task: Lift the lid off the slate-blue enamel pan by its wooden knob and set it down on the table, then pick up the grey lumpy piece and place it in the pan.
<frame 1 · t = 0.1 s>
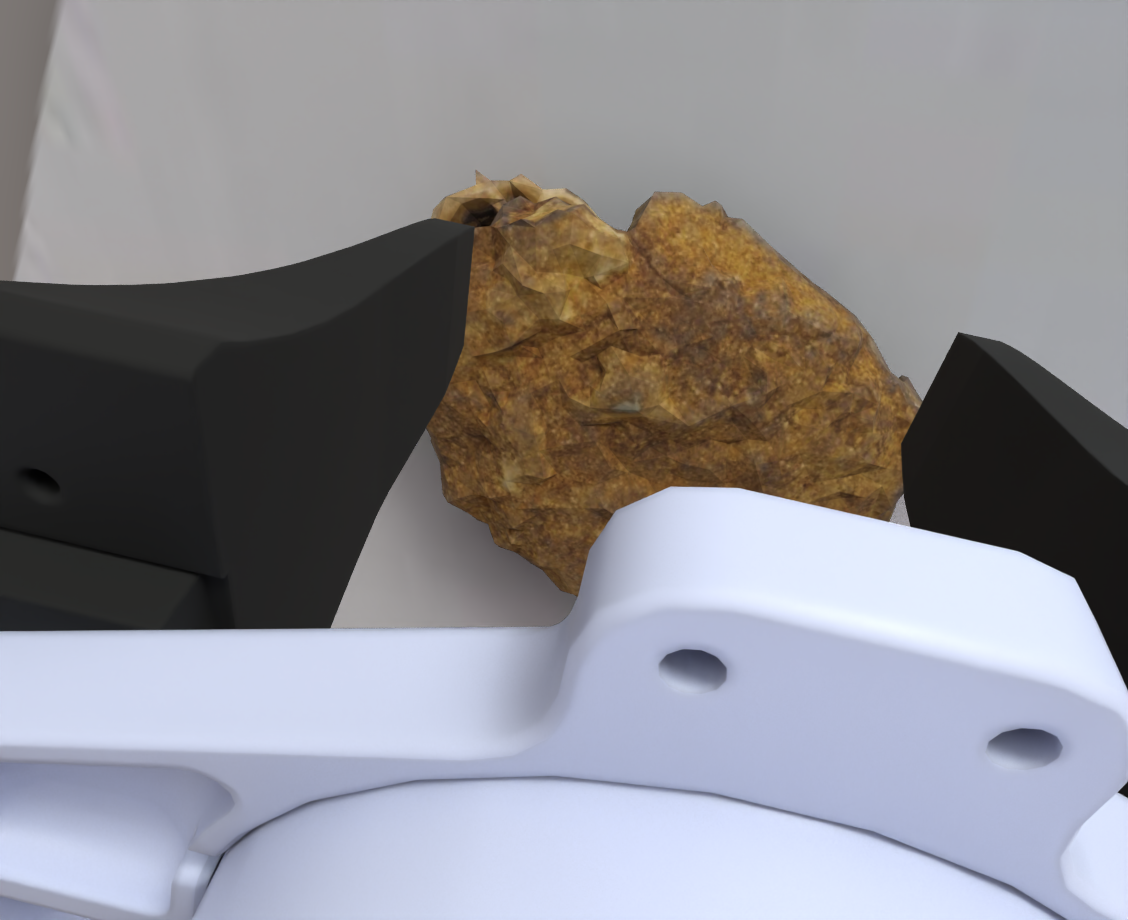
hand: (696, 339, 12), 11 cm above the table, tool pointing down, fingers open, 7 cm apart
decorative rock: (635, 386, 24), on the table
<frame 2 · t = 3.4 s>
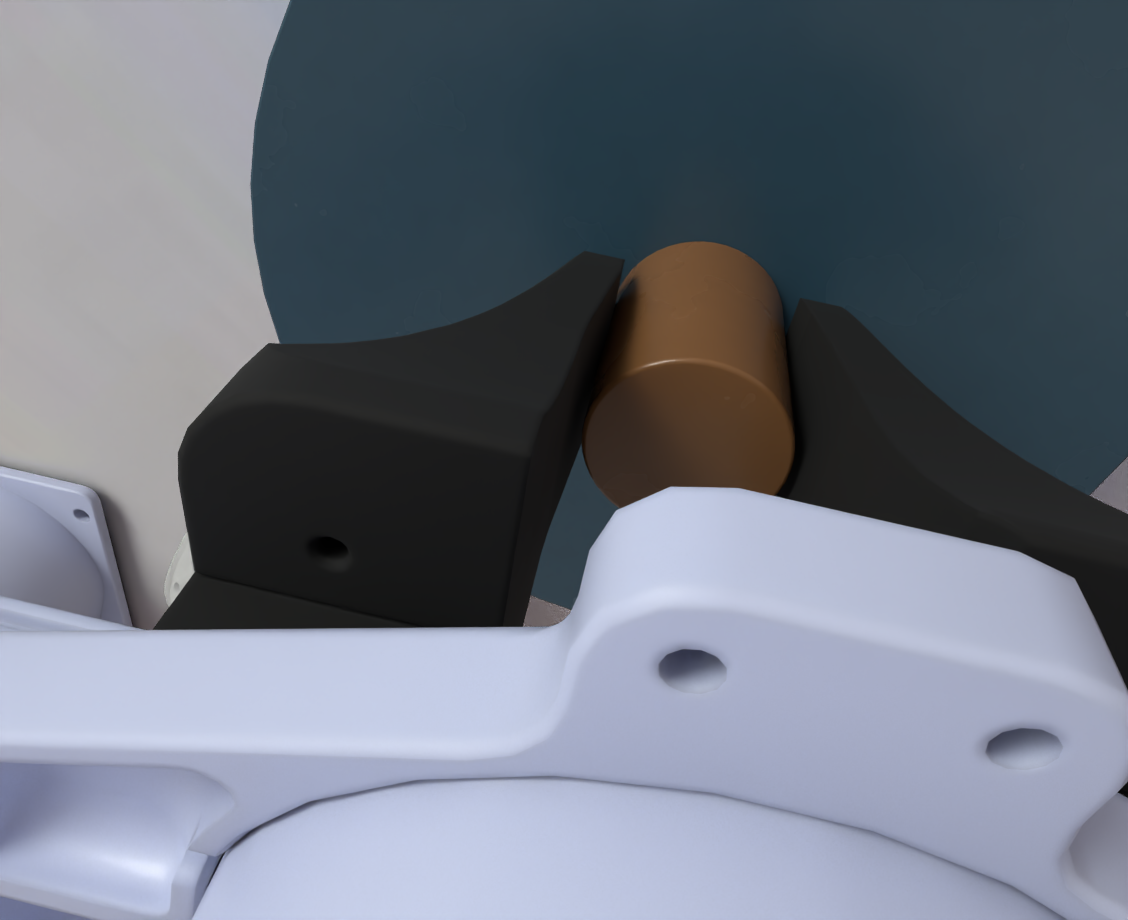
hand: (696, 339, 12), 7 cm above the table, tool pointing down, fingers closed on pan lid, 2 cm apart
grey lumpy piece: (382, 470, 24), on the table
pan lid: (697, 305, 13), point 6 cm above the table, touching gripper, pan
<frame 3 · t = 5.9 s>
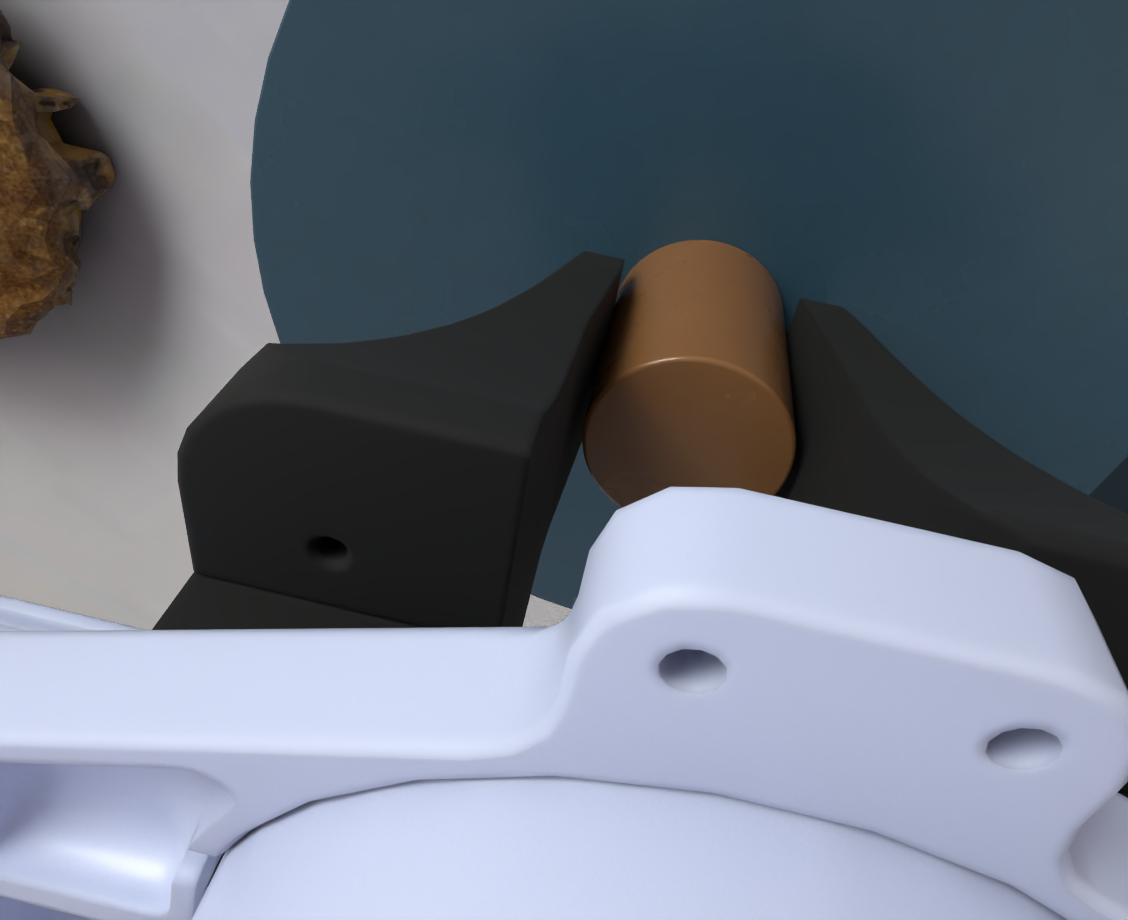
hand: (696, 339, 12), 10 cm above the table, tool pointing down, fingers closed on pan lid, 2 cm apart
pan: (1108, 496, 24), on the table
pan lid: (698, 303, 13), point 9 cm above the table, touching gripper
when the fingers open (2 cm above the table, at t = 8.1 s): pan lid stays where it is, point 1 cm above the table.
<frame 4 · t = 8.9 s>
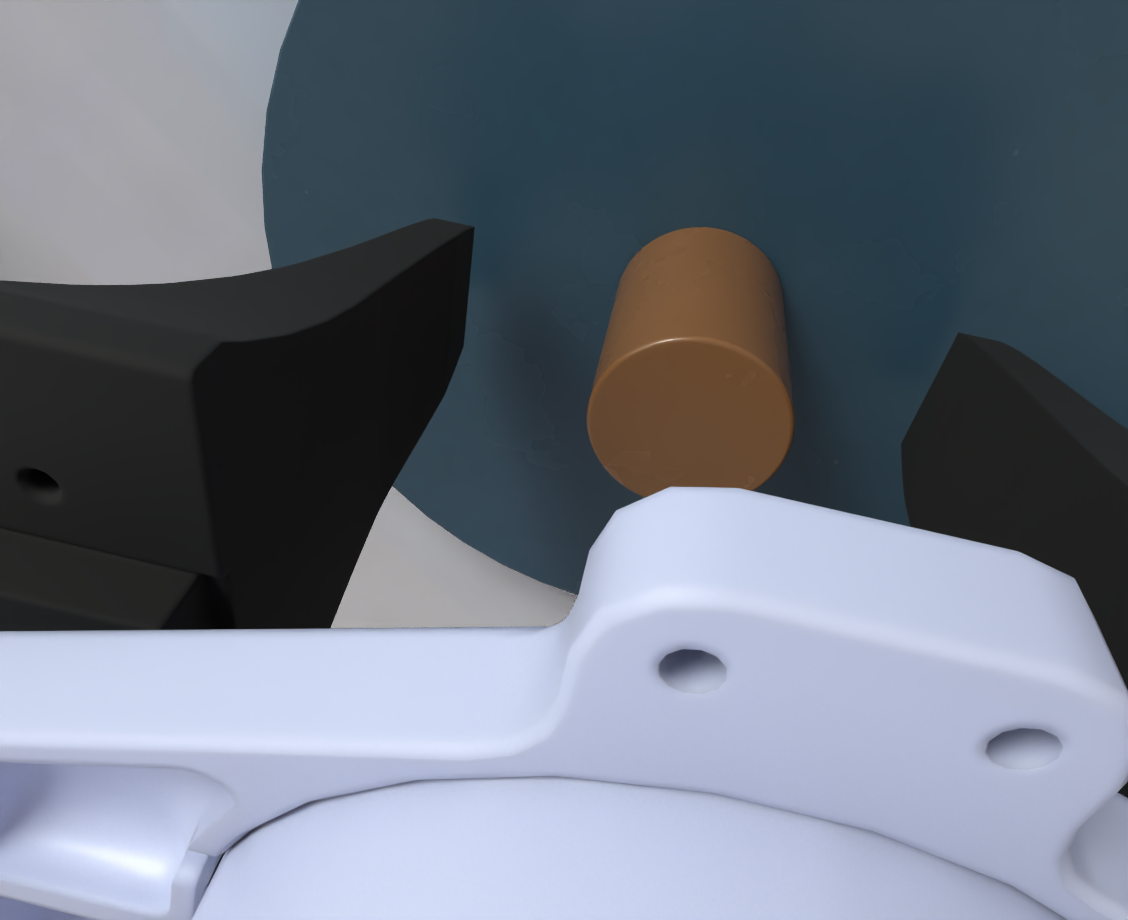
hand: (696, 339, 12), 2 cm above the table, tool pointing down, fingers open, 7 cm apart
pan lid: (699, 290, 14), point 1 cm above the table
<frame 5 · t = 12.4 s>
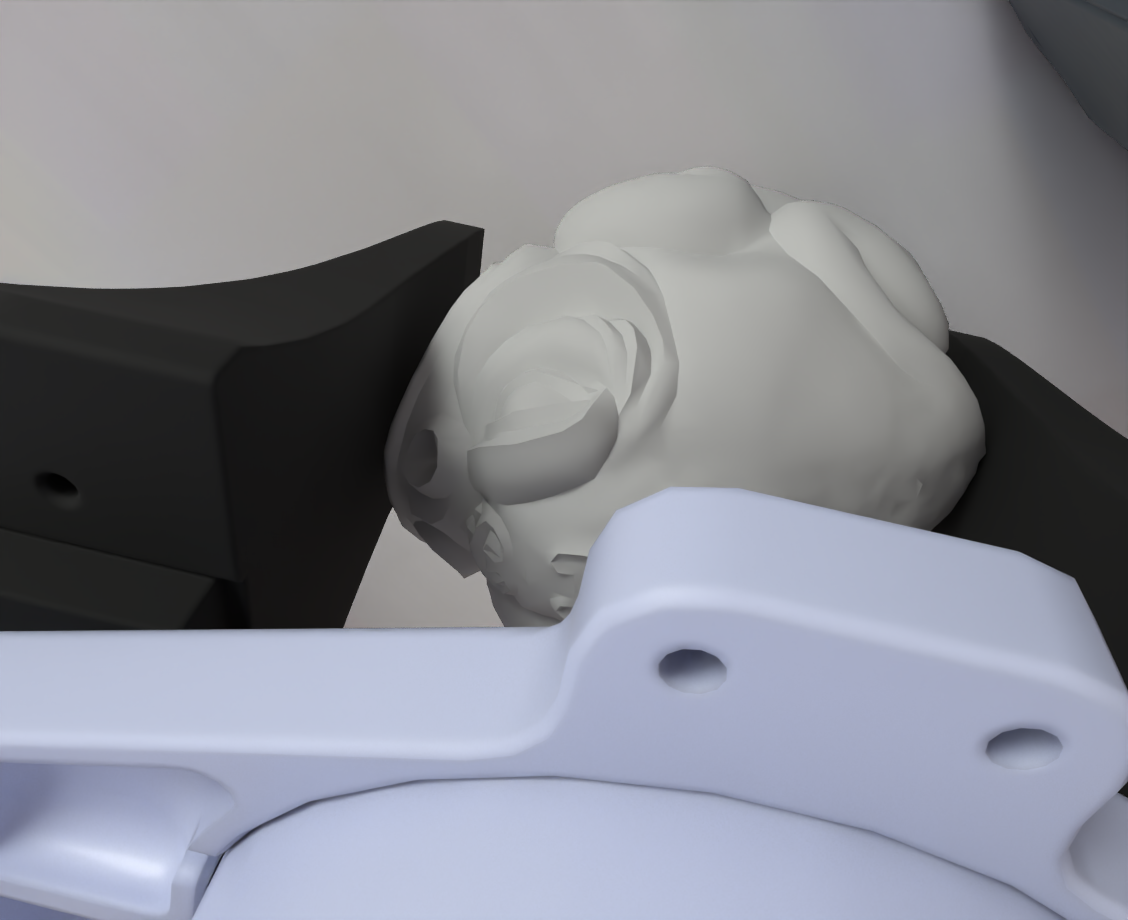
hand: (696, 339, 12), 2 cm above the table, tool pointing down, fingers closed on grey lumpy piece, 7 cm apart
grey lumpy piece: (698, 286, 14), on the table, touching gripper
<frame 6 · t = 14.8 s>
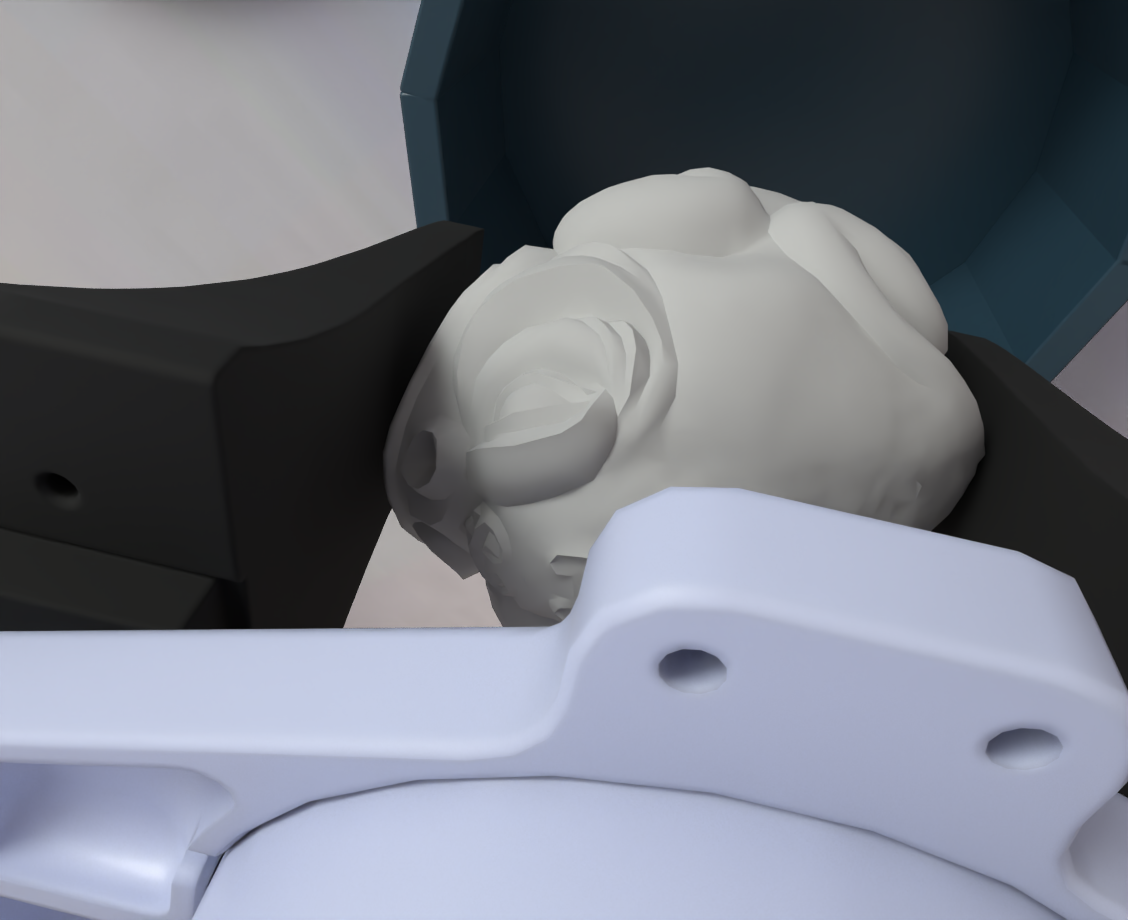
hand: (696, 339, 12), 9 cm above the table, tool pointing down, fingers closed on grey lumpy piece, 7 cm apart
pan: (764, 100, 19), on the table
grey lumpy piece: (698, 287, 14), point 8 cm above the table, touching gripper
when the fingers open (2 cm above the table, at t = 17.4 s): grey lumpy piece stays where it is, resting on pan.
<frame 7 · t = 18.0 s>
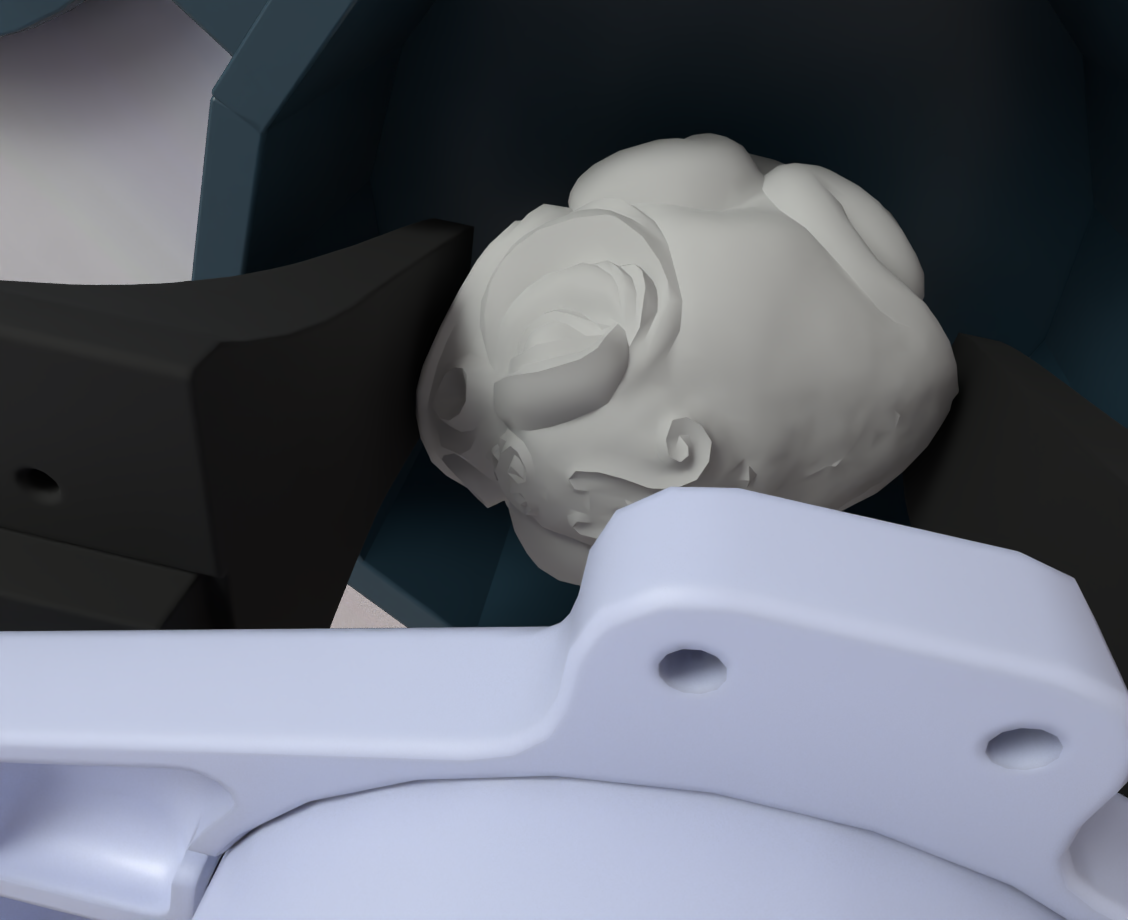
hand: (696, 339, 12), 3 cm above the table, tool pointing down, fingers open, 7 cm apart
pan: (705, 246, 15), on the table
grey lumpy piece: (699, 253, 15), resting on pan
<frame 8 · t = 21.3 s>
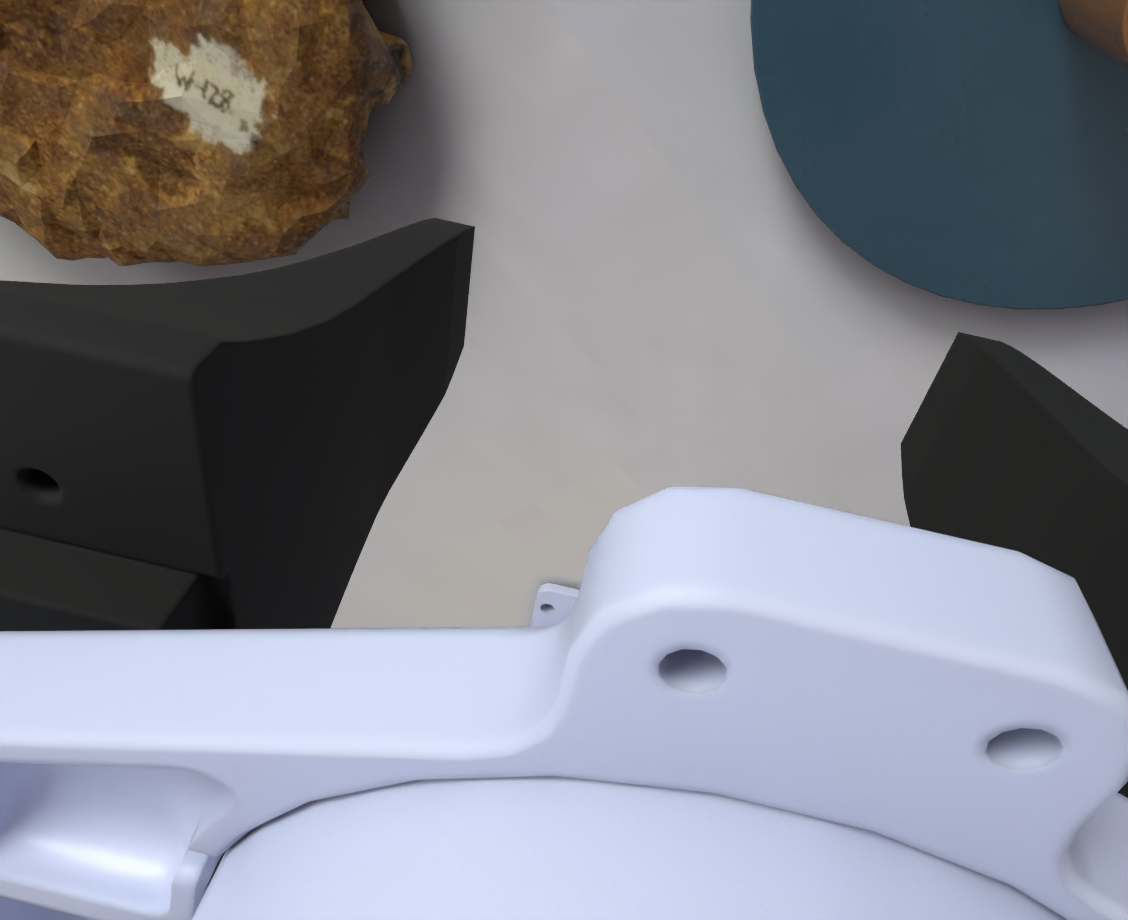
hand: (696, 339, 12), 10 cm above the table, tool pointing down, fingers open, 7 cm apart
decorative rock: (125, 16, 21), on the table
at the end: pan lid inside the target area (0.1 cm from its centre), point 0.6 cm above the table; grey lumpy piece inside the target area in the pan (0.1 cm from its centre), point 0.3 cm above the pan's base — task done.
